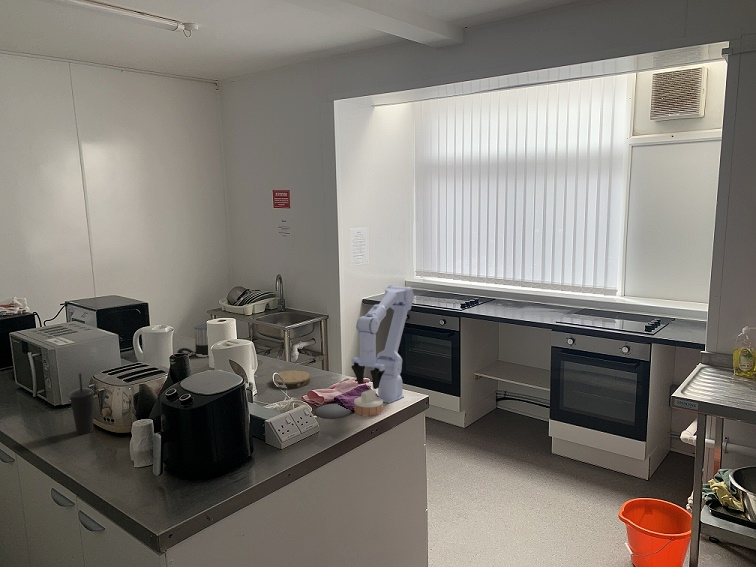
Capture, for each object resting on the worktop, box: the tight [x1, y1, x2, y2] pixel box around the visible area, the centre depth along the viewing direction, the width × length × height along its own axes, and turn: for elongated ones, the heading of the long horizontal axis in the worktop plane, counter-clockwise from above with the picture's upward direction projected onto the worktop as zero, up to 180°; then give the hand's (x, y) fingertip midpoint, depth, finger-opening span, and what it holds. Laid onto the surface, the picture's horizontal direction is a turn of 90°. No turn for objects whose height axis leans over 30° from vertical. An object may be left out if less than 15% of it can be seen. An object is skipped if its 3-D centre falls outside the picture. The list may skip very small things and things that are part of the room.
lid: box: [353, 388, 384, 408], centre depth 210 cm, size 10×10×4 cm
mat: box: [315, 403, 352, 419], centre depth 210 cm, size 13×13×1 cm
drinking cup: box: [68, 373, 95, 435], centre depth 192 cm, size 8×8×20 cm
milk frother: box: [176, 323, 208, 355], centre depth 281 cm, size 14×16×15 cm
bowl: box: [353, 402, 384, 417], centre depth 210 cm, size 10×10×3 cm
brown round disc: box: [271, 369, 311, 390], centre depth 242 cm, size 16×16×3 cm
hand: (368, 386), depth 209 cm, fingers open, 7 cm apart
